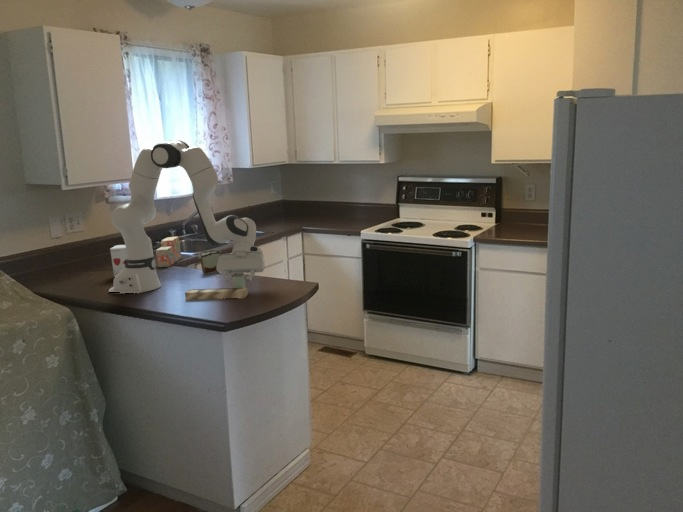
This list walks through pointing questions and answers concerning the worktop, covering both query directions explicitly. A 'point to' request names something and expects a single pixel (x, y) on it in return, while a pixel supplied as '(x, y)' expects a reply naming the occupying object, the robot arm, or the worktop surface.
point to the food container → (209, 260)
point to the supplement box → (118, 258)
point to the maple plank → (216, 293)
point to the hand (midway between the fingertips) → (238, 280)
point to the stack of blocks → (168, 252)
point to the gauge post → (238, 280)
